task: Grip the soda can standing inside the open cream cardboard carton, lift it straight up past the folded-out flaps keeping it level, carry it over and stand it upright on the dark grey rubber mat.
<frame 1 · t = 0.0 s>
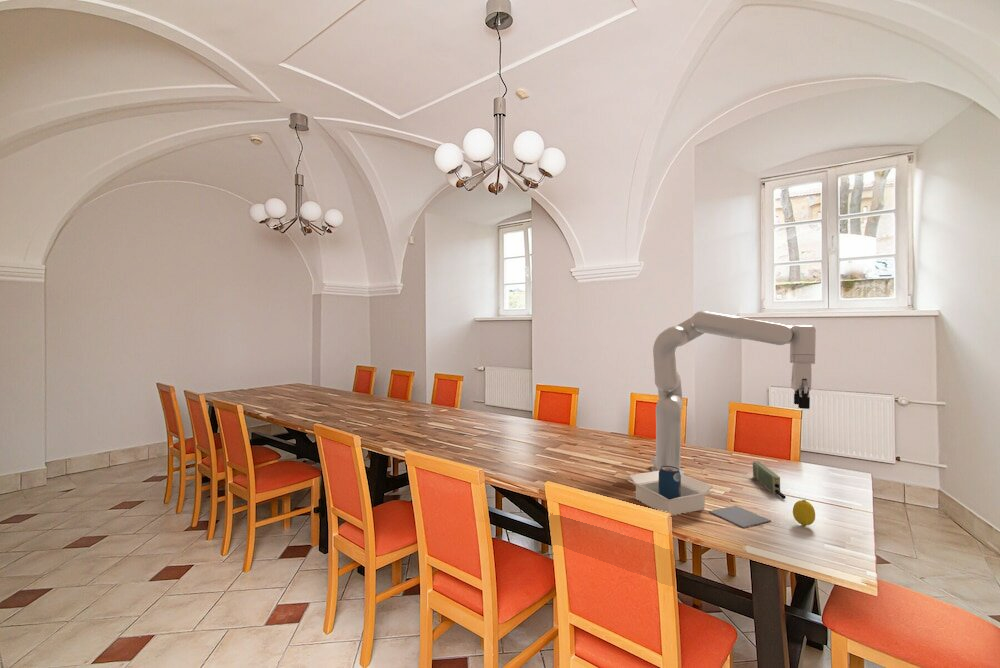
hand: (801, 406, 158), 31 cm above the table, tool pointing down, fingers open, 9 cm apart
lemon: (803, 527, 130), on the table
handheld radio: (768, 488, 163), on the table
carton: (669, 504, 146), on the table
mat: (739, 516, 136), on the table
soda can: (669, 504, 146), resting in carton
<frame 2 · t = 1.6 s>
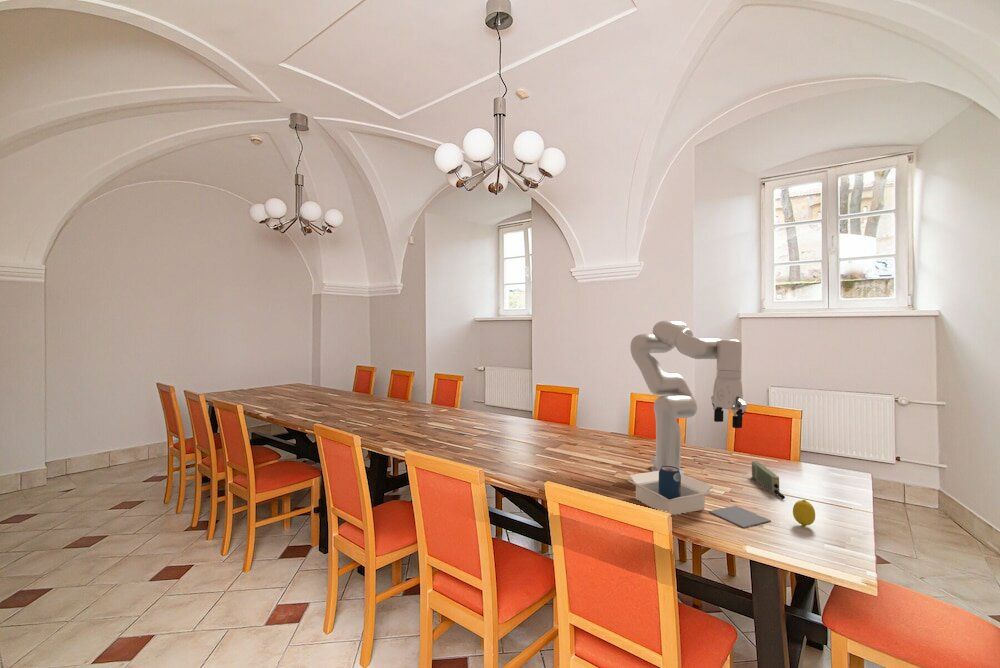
hand: (727, 424, 151), 26 cm above the table, tool pointing down, fingers open, 9 cm apart
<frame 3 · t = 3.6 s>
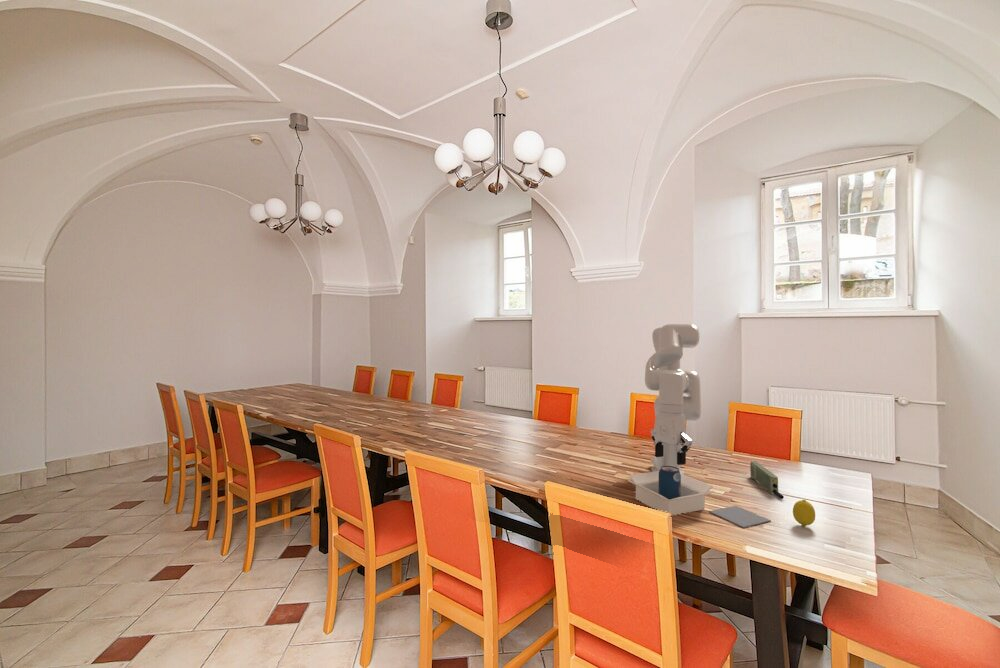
hand: (669, 460, 145), 15 cm above the table, tool pointing down, fingers open, 9 cm apart
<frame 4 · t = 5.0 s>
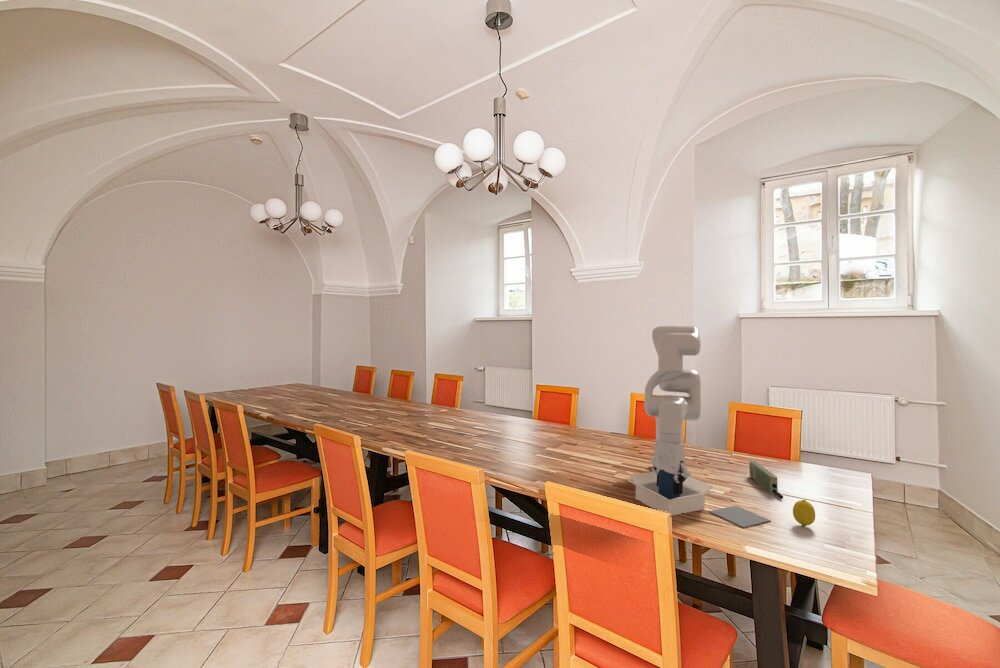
hand: (669, 489, 146), 5 cm above the table, tool pointing down, fingers closed on soda can, 7 cm apart
soda can: (669, 504, 146), resting in carton, touching gripper
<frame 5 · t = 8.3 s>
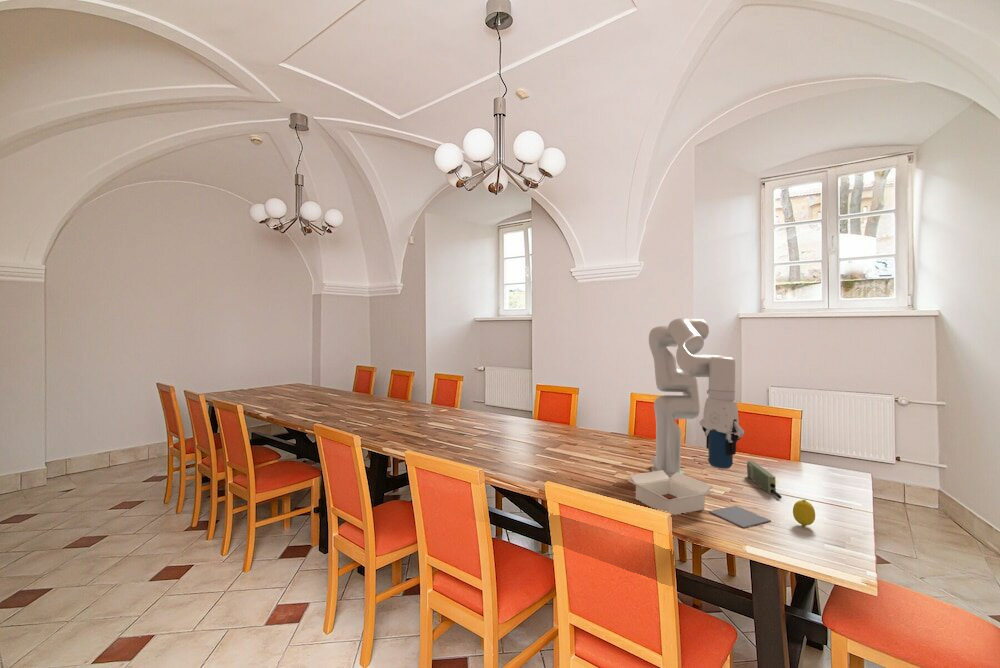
hand: (720, 451, 139), 20 cm above the table, tool pointing down, fingers closed on soda can, 7 cm apart
soda can: (720, 466, 139), point 15 cm above the table, touching gripper
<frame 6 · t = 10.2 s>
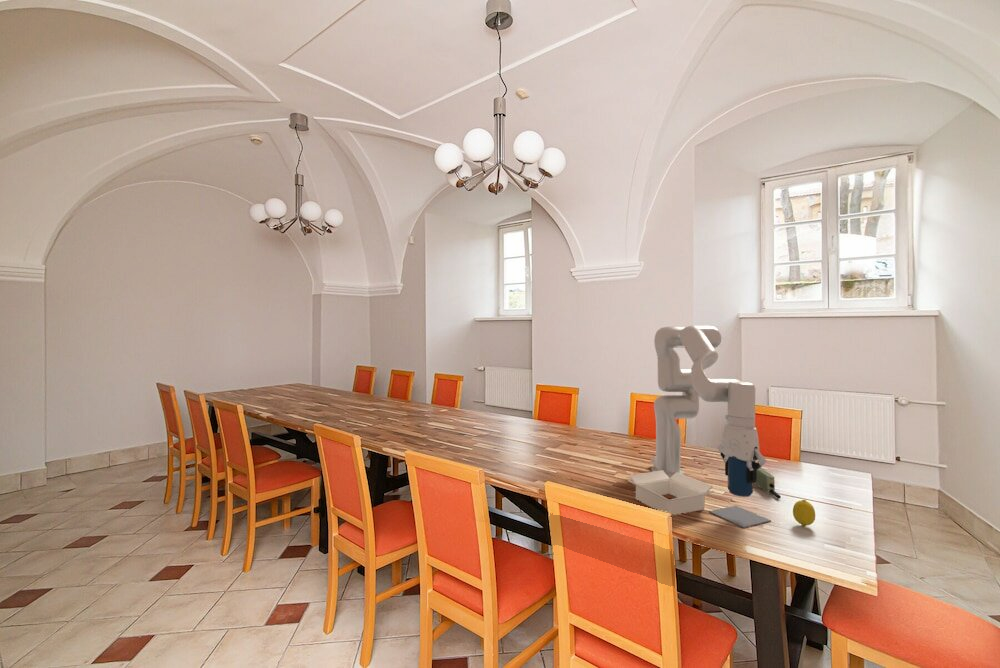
hand: (740, 478, 136), 12 cm above the table, tool pointing down, fingers closed on soda can, 7 cm apart
soda can: (739, 494, 136), point 7 cm above the table, touching gripper
when the fingers open (7 cm above the table, at t = 11.8 s): soda can drops 1 cm, resting on mat.
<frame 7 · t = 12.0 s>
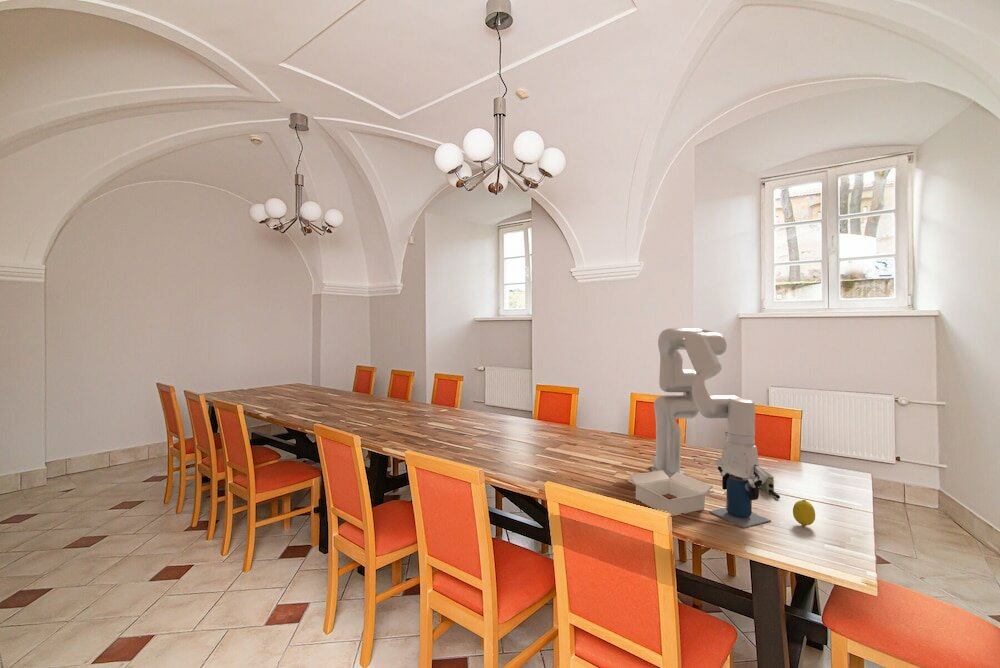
hand: (739, 493, 136), 7 cm above the table, tool pointing down, fingers open, 9 cm apart
soda can: (738, 515, 137), resting on mat
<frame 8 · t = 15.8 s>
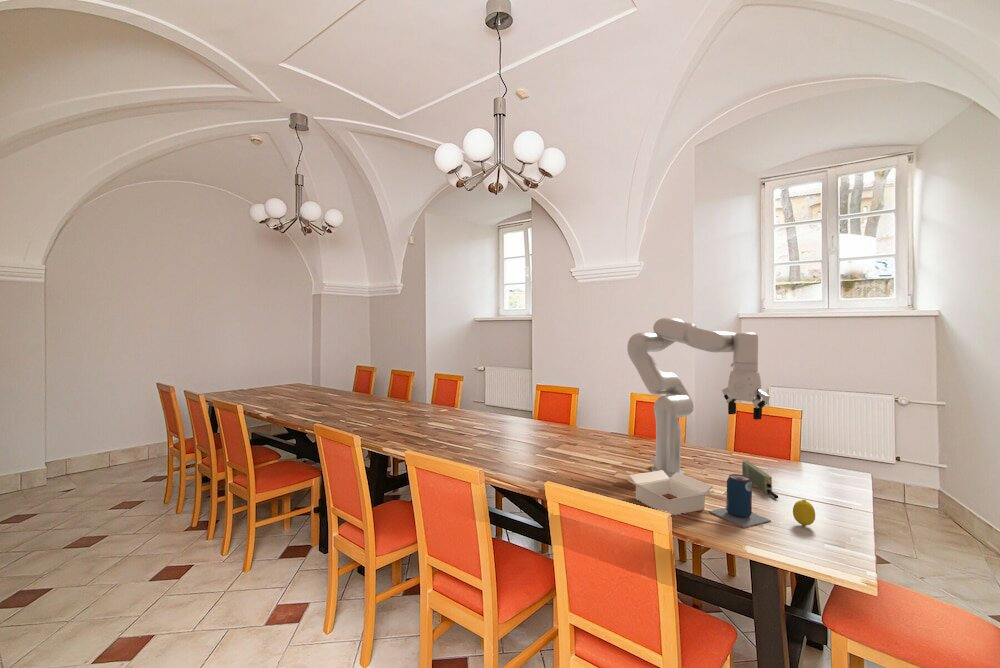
hand: (744, 416, 152), 28 cm above the table, tool pointing down, fingers open, 9 cm apart
at the end: soda can inside the target area on the mat (0.3 cm from its centre), point 0.2 cm above the mat's base; soda can tilted 0°; the gripper is holding nothing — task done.
